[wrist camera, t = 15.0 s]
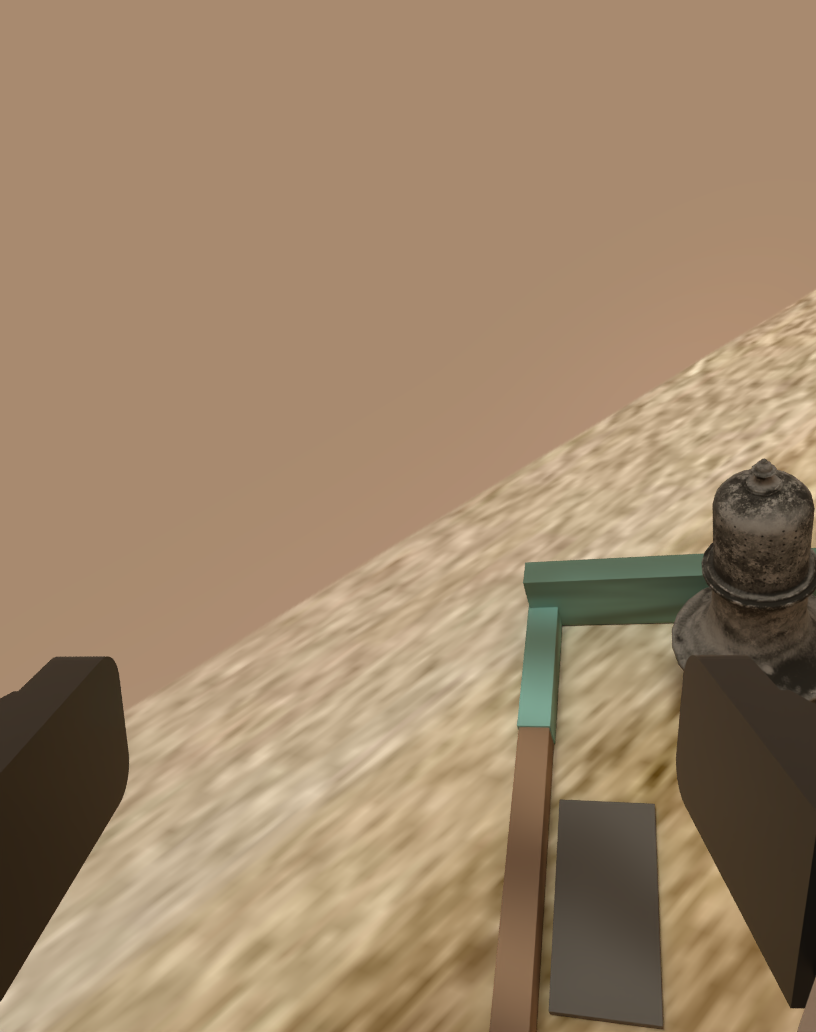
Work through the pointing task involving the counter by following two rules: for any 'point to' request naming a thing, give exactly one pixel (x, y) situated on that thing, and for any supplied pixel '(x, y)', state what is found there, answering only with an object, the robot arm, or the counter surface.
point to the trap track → (582, 818)
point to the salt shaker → (758, 581)
